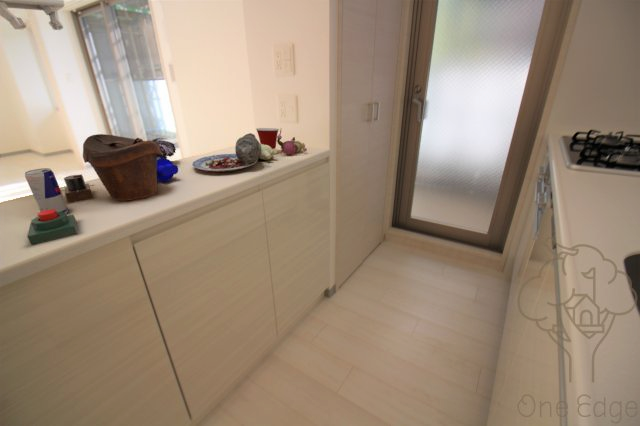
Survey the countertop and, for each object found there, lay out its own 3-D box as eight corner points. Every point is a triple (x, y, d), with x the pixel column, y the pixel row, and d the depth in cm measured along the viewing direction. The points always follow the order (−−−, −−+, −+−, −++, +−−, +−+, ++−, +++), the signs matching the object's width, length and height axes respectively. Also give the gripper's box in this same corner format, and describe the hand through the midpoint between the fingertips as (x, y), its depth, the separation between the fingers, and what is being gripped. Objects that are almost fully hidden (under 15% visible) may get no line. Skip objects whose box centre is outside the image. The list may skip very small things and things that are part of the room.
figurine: (310, 125, 140) (294, 127, 127) (311, 153, 144) (295, 157, 132) (291, 125, 144) (274, 126, 132) (292, 151, 149) (275, 155, 136)
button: (40, 223, 65) (36, 216, 64) (40, 218, 67) (37, 211, 66) (58, 219, 66) (55, 212, 66) (58, 214, 69) (55, 208, 68)
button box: (31, 245, 63) (23, 228, 61) (34, 231, 69) (27, 216, 67) (77, 233, 68) (71, 218, 66) (76, 222, 73) (70, 207, 72)
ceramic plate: (270, 162, 125) (269, 155, 124) (227, 179, 104) (226, 171, 103) (225, 156, 136) (224, 149, 134) (178, 170, 115) (177, 162, 114)
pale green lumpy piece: (283, 160, 131) (261, 157, 139) (284, 145, 129) (261, 142, 138) (261, 161, 120) (238, 158, 129) (261, 144, 119) (238, 142, 127)
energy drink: (73, 212, 79) (56, 169, 74) (49, 220, 74) (30, 175, 69) (62, 208, 81) (45, 167, 76) (38, 216, 76) (19, 172, 71)
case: (171, 197, 88) (158, 137, 80) (92, 209, 80) (68, 144, 72) (170, 180, 102) (158, 128, 95) (102, 189, 94) (84, 133, 87)
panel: (62, 205, 83) (58, 194, 82) (62, 196, 89) (59, 186, 88) (98, 198, 88) (95, 188, 87) (96, 190, 94) (93, 181, 93)
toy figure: (153, 157, 94) (127, 153, 101) (160, 185, 97) (134, 180, 104) (178, 153, 101) (152, 150, 108) (183, 179, 105) (158, 175, 112)
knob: (68, 191, 85) (63, 179, 83) (68, 187, 88) (63, 175, 86) (86, 188, 87) (82, 176, 85) (85, 184, 90) (81, 172, 89)
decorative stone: (239, 124, 123) (262, 125, 125) (240, 146, 129) (263, 147, 130) (232, 143, 106) (260, 144, 107) (234, 167, 111) (261, 168, 112)
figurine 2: (296, 148, 148) (295, 136, 145) (290, 153, 142) (288, 141, 139) (282, 148, 151) (281, 136, 148) (276, 153, 144) (274, 140, 141)
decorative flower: (126, 157, 112) (143, 140, 124) (148, 180, 119) (162, 162, 131) (156, 143, 109) (170, 127, 121) (177, 168, 116) (188, 150, 128)
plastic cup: (284, 151, 143) (283, 127, 138) (272, 156, 134) (271, 130, 129) (266, 150, 147) (264, 125, 142) (253, 154, 138) (251, 128, 133)
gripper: (26, -28, 70) (69, 34, 77) (-81, -48, 53) (-14, 34, 59) (44, -41, 69) (86, 24, 75) (-62, -66, 51) (5, 21, 58)
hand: (41, 28), depth 67 cm, fingers open, 8 cm apart
